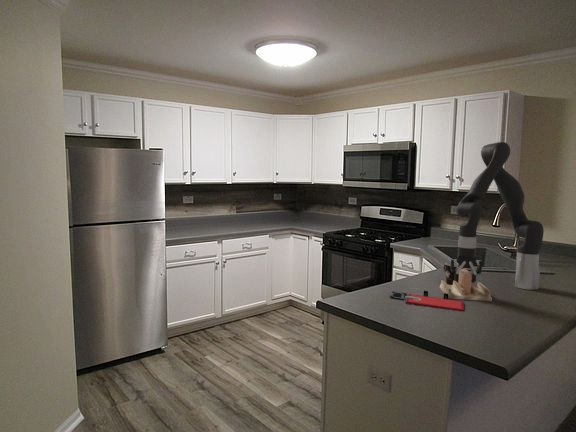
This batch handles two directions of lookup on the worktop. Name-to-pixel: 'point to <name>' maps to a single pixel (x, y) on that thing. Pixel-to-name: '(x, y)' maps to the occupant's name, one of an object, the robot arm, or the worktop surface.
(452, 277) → the coffee mug
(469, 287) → the tile
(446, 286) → the dish rack
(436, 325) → the worktop surface
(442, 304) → the red board with handle
